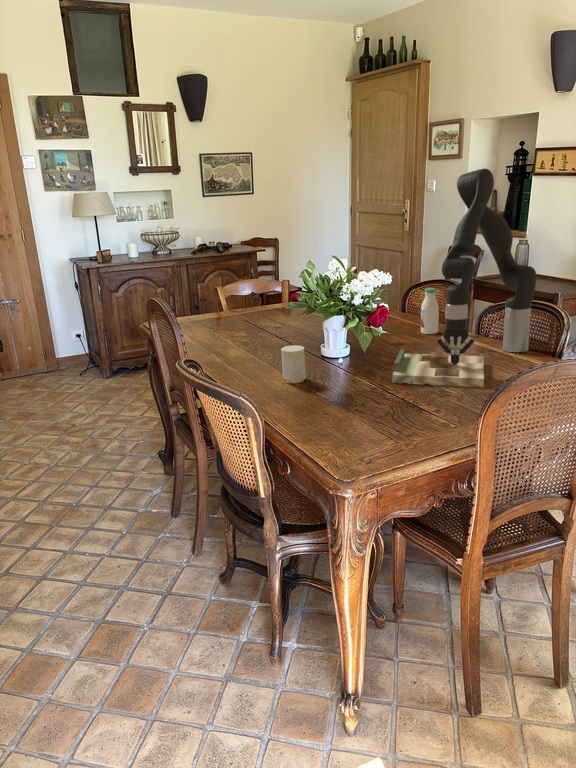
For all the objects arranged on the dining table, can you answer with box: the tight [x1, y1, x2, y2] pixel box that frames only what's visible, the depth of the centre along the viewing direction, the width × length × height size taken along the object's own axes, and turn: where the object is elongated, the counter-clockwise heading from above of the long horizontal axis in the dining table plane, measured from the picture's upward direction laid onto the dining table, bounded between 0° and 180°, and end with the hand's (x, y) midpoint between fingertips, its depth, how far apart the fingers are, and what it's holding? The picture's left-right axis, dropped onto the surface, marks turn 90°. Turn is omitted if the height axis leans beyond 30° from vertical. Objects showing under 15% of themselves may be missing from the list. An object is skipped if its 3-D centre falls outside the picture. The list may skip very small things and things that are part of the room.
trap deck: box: [391, 348, 485, 388], centre depth 207 cm, size 30×26×6 cm
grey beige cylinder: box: [280, 344, 307, 381], centre depth 208 cm, size 8×8×12 cm
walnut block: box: [430, 351, 449, 368], centre depth 206 cm, size 6×6×4 cm
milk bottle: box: [420, 287, 440, 335], centre depth 259 cm, size 8×8×20 cm
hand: (454, 364), depth 205 cm, fingers closed
